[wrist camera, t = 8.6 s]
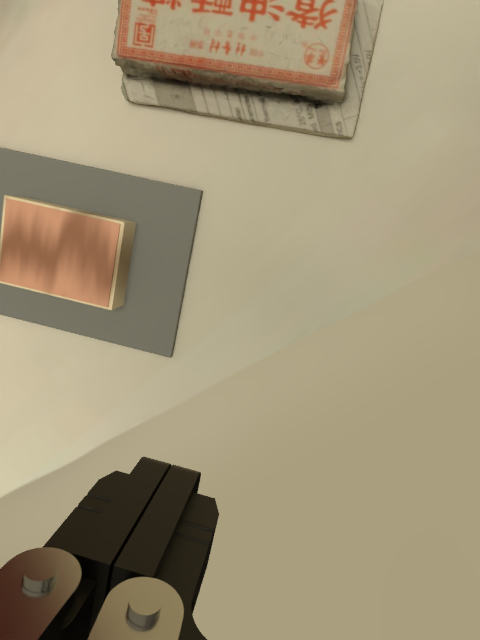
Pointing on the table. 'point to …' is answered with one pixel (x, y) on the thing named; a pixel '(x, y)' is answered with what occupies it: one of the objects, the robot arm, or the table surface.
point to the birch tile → (65, 252)
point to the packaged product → (250, 59)
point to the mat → (146, 259)
